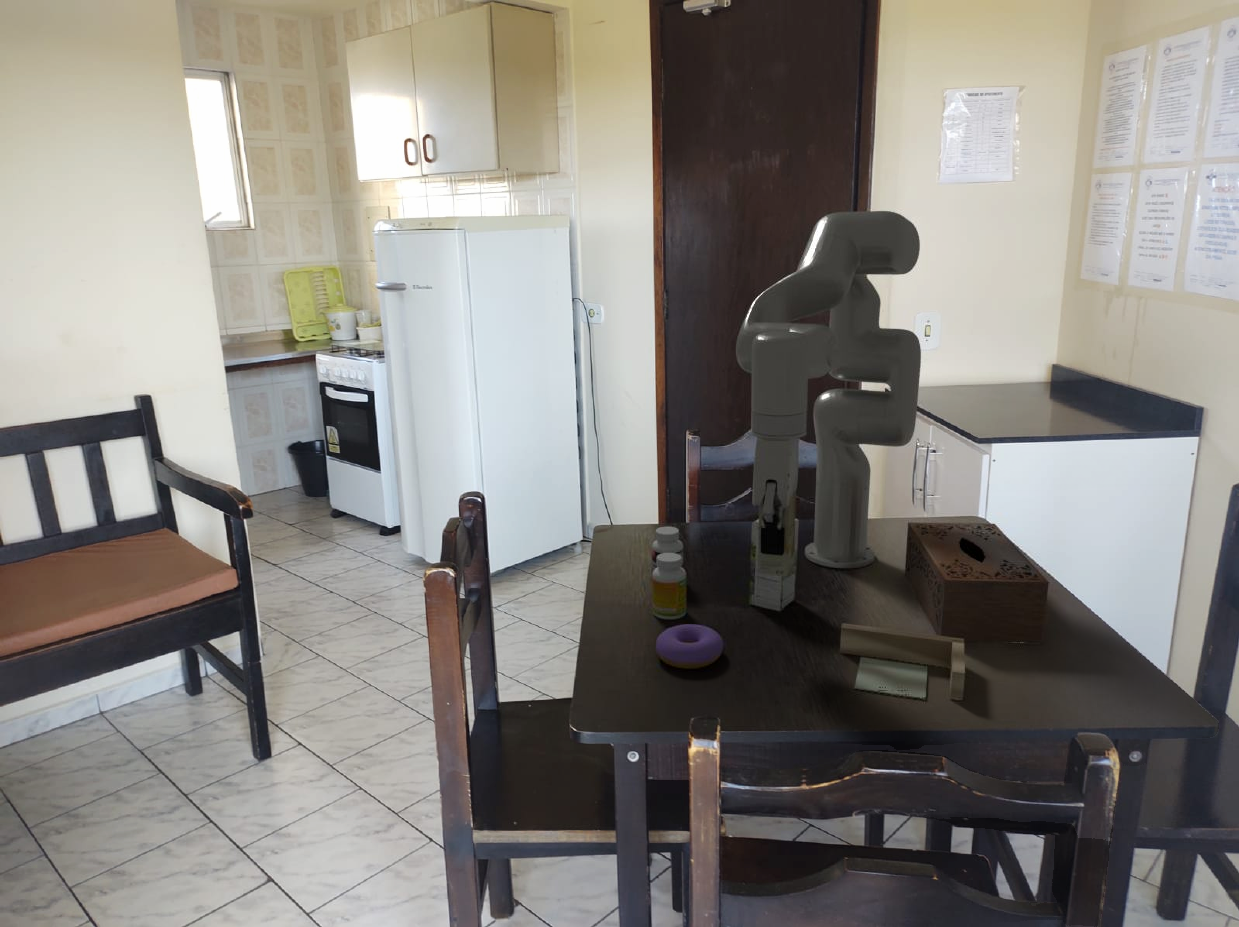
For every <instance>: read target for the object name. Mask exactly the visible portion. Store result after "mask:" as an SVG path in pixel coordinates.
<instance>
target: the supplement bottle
mask: <svg viewBox="0 0 1239 927" xmlns="http://www.w3.org/2000/svg"><path fill="white" fill-rule="evenodd" d="M656 564H657V568H656V569H655V570H654V571H653V576H652V575H651V576H652V577H651V578H652V613H653V615H654V616H656V618H659V619H662V620H670V621H671V620H677V619H678V620H679V619H681V618H682V617H683V618H684V616H685V615H686V613H687V572H686V570H685V568H684V567H683V568H682V567H681V566H682V557H681V556H680V555H679V554H676V553H662V554H659V555H658V556H657V561H656Z"/></svg>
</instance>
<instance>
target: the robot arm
mask: <svg viewBox="0 0 1239 927" xmlns="http://www.w3.org/2000/svg"><path fill="white" fill-rule="evenodd" d="M804 248H805V249H804V250H803V254H802V256H801V258H800V260H799V262H798V265H797V269H796V271H795V272H792V273H791V274H789V275H787V276H785V277H784V278H782V279H780V280H779V281H777V282H776V283H774V284H773V285H771V286H770V287H768V288H767V289H765V290H764V291H763V292H761V293H760V294H759V295H758V296H757V297H756V298H755V299H754V300H753V301H752V303H751V305H750V306H749V308H748V311H747V313H746V314H745V317H744V319H743V321H742V323H741V326H740V329H739V332H738V335H737V339H736V345H735V356H736V360H737V362H738V365H739V367H740V368H741V369H742V370H743V371H745V372H746V373H749V374H751V405H750V407H751V415H750V416H751V420H750V425H751V429H750V430H751V431H750V433H751V435H752V436H754V437H756V441H755V449H754V458H753V459H754V461H753V477H752V478H753V479H752V499H751V500H752V502H751V504H752V505H753V508H754V507H755V508H759V506H760V504H761V503H762V501H763V511H762V522H761V553H762V554H771V555H783V554H784V535H785V528H784V527H782V525H783V513H784V509H785V508H786V507H788V505H789V502H790V499H791V497H792V495H793V493H794V492H795V490H796V491H797V488H798V480H799V479H798V478H799V448H800V447H799V444H800V443H799V442H800V438H802V437H805V436H806V435H807V428H808V426H807V425H808V424H807V423H808V393H809V392H808V391H809V389H808V388H809V386H808V385H809V382H808V381H809V380H811V379H812V380H813V379H818V378H822V377H825V375H827V374H829V375H830V376H831V377H832V378H834V379H836V380H839V381H845V382H856V383H858V382H860V383H870V384H871V383H875V384H886V385H888V386H889V389H890V391H887V390H886V391H884V390H882V391H881V390H868V389H856V388H855V389H854V388H834V389H828V390H826V391H824V392H822V393H821V394H820V395H818V396H817V398H815V399H816V400H815V402H814V405H813V409H812V410H813V425H814V432H815V442H816V443H815V444H816V474H815V475H816V476H815V479H816V481H815V504H814V506H815V507H814V508H815V509H814V530H813V531H814V532H813V542H809V544H807V545H806V546H805V549H804V556H805V557H806V559H807V560H808V561H810V562H812V563H813V564H817V565H819V566H823V567H827V568H832V569H833V568H834V569H857V568H862V567H865V566H868V565H870V564H872V563H873V562H874V561H875V551H874V549H872V548H871V547H870V546H868V545H867V542H868V541H867V539H868V522H869V504H870V485H871V466H870V465H871V464H870V461H869V459H868V457H867V455H866V454H865V452H864V451H863V449H862V448H861V446H860V445H867V446H869V445H870V446H881V447H896V448H897V447H904V446H907V444H909V443H910V442H911V440H912V439H913V437H914V433H915V429H916V420H917V412H918V409H917V408H918V398H919V387H920V378H921V376H920V375H921V366H922V365H921V363H922V362H921V361H922V350H921V348H922V347H921V343H920V340H919V338H918V336H917V335H916V334H915V333H914V332H913V331H911V330H909V329H903V328H886V327H885V328H882V327H880V314H881V301H882V300H881V297H880V295H879V292H878V291H877V289H876V287H875V285H873V283H872V282H871V281H870V279H869V278H868V277H867V276H866V275H879V276H880V275H882V276H883V275H885V276H886V275H892V276H893V275H905V274H908V273H910V272H911V271H912V270H913V269H914V267H915V266H916V264H917V262H918V259H919V256H920V249H921V242H920V236H919V231H918V230H917V227H916V226H915V224H914V223H913V222H912V221H910V220H909V219H908V218H906V217H905V216H904V215H902V214H900V213H897V212H895V211H890V210H872V211H869V210H867V211H841V212H840V211H839V212H834V213H833V212H832V213H828V214H826V215H825V216H823V217H822V218H820V219H819V220H818V221H817V222H816V224H815V225H814V227H813V229H812V231H811V233H810V236H809V238H808V241H807V243H806V245H805V247H804ZM826 311H829V322H828V323H829V325H828V326H827V325H823V324H817V323H800V322H799V323H798V322H797V323H796V322H793V321H796V320H797V321H798V320H800V319H803V318H807V317H812V316H814V315H818V314H821V313H823V312H826ZM763 497H764V499H763ZM775 501H777V502H780V506H774V504H775ZM774 510H775V511H779V512H778V517H777V515H776V514H774Z"/></svg>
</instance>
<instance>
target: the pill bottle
mask: <svg viewBox="0 0 1239 927" xmlns="http://www.w3.org/2000/svg"><path fill="white" fill-rule="evenodd" d="M655 539H656V540H654V542H653V543H652V544H651V545H652V546H651V559H652V560H651V567H652V568H651V569H652V570H651V574H652V575H651V576H653V571H654V570H655V569H656V568H657V564H656V561H657V556H658V555H659V554H662V553H676V554H679V555H680V556H681V557H682V566H681V567H682V568H683V569H684V544H683V542H682V541H681V540H679V539H680V531H679V528H677V527H674V526H661V527H658V528H656V529H655Z"/></svg>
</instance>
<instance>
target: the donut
mask: <svg viewBox="0 0 1239 927" xmlns="http://www.w3.org/2000/svg"><path fill="white" fill-rule="evenodd" d="M723 649H724V641H723V639H722V636H721V635H720V634H719V633H718V632H717V631H715V630H714V629H713V628H711V627H708V626H705V625H702V624H694V623H693V624H692V623H690V624H689V623H688V624H679V625H678V624H677V625H675V626H672V627H668V628H666V629H665V630H664V631H663V632H662V633H660V634H659V635H658V636H657V638H656V642H655V652H656V654H657V655H658V657H659V659H660V660H662V662H664V663H665V664H666V665H669V666H671V667H674V668H679V669H686V670H692V669H693V670H694V669H701V668H705V667H708V666H709V665H711V664H714V663H715V662H717V660H718V659H719V658H720V656H721V655H722V652H723Z"/></svg>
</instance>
